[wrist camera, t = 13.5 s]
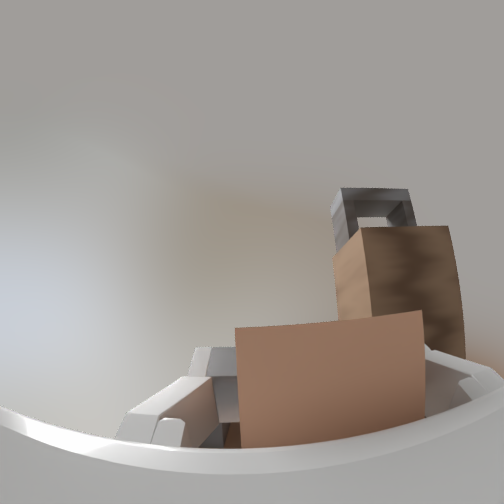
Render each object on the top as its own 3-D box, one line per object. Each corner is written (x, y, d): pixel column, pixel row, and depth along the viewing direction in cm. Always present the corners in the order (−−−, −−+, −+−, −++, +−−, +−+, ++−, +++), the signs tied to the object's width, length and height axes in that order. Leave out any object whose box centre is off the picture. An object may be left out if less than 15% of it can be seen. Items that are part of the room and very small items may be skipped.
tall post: (363, 548, 12) (347, 163, 21) (339, 507, 20) (325, 206, 29) (445, 517, 12) (431, 168, 21) (409, 487, 20) (395, 206, 29)
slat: (242, 468, 5) (234, 328, 6) (251, 370, 22) (249, 332, 23) (423, 437, 5) (421, 309, 6) (302, 366, 22) (300, 329, 23)
